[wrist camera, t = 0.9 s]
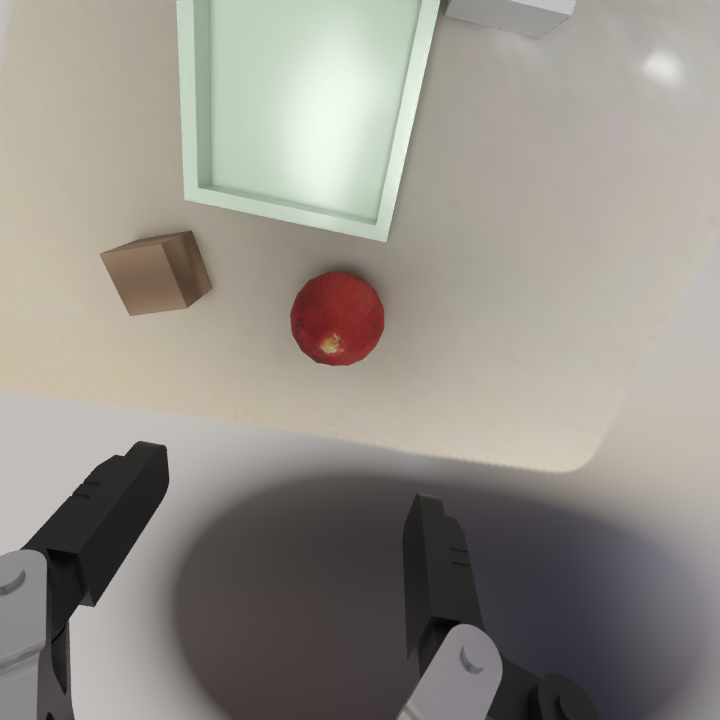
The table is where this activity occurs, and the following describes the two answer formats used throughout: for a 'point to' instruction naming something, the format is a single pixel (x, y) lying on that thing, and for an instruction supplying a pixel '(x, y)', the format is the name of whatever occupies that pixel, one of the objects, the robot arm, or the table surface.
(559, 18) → the grey block
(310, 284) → the onion
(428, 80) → the table surface
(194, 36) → the dish
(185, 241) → the walnut block
